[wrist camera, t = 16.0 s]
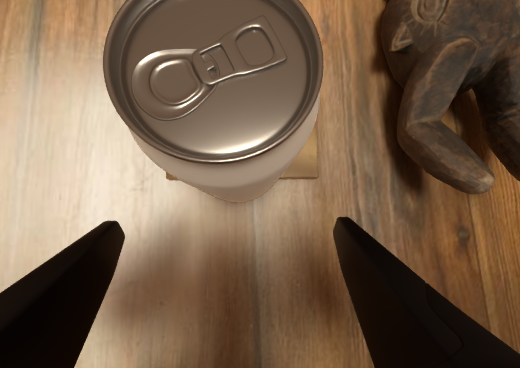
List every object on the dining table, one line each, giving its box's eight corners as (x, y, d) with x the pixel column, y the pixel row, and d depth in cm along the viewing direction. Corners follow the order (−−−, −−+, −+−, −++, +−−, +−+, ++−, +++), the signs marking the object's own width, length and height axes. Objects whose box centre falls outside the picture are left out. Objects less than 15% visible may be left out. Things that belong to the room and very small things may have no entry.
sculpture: (450, -62, 22) (542, -182, 15) (496, 192, 20) (631, 184, 13) (353, -64, 21) (404, -192, 15) (387, 200, 19) (468, 196, 12)
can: (183, 143, 18) (44, -2, 6) (257, 110, 18) (270, -84, 6) (219, 217, 17) (147, 229, 5) (293, 180, 18) (385, 113, 6)
